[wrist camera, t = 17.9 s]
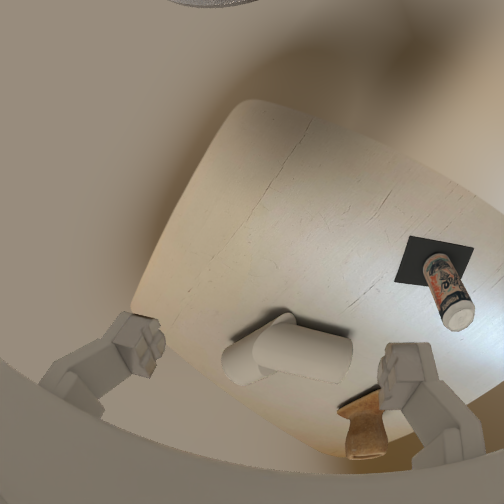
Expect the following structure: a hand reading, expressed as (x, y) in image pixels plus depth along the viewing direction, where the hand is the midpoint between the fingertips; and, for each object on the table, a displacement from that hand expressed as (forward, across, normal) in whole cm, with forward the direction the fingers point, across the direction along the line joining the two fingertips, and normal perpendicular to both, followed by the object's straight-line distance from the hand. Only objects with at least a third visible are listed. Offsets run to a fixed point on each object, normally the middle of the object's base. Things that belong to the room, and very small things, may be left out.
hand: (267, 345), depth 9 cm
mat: (+29, -21, +15) cm, 39 cm away
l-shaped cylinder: (+29, +1, +33) cm, 44 cm away
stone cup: (+29, -19, +56) cm, 66 cm away
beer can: (+29, -21, +15) cm, 39 cm away
